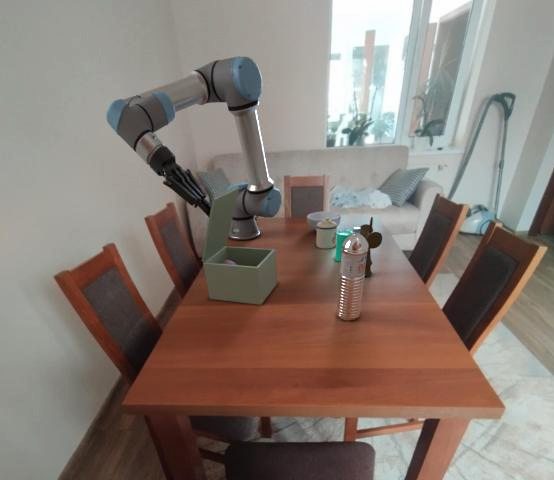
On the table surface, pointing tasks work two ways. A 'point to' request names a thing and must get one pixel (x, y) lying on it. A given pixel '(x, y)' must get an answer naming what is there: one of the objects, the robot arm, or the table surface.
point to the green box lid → (219, 222)
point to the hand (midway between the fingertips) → (217, 218)
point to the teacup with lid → (326, 234)
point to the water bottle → (352, 276)
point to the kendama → (370, 243)
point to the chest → (241, 274)
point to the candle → (340, 239)
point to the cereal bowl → (322, 218)
